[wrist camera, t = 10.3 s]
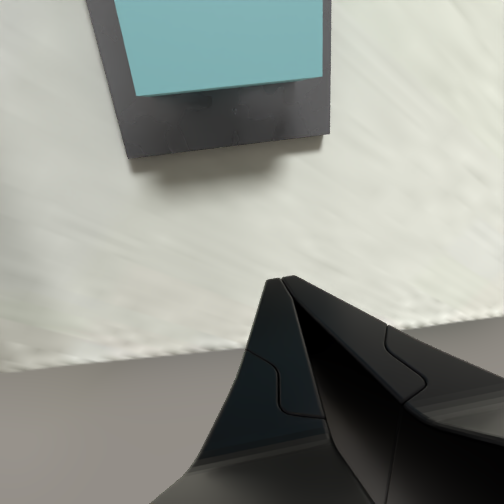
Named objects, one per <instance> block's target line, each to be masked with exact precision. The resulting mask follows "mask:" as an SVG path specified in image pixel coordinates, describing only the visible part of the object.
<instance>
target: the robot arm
mask: <svg viewBox="0 0 504 504" xmlns="http://www.w3.org/2000/svg"><path fill="white" fill-rule="evenodd" d="M150 504H504V378H503V377H501V376H498V375H496V374H493V373H491V372H489V371H487V370H484V369H482V368H480V367H478V366H475V365H473V364H470V363H468V362H466V361H464V360H461V359H459V358H457V357H454V356H452V355H450V354H448V353H446V352H443V351H441V350H439V349H437V348H435V347H432V346H430V345H428V344H426V343H424V342H422V341H419V340H418V339H415V338H414V337H411V336H410V335H408V334H405V333H404V332H402V331H400V330H398V329H396V328H394V327H392V326H390V325H388V326H387V324H386V323H384V322H382V321H381V320H379V319H377V318H375V317H373V316H371V315H369V314H367V313H365V312H364V311H362V310H360V309H358V308H356V307H354V306H352V305H350V304H348V303H347V302H345V301H343V300H341V299H339V298H337V297H335V296H333V295H331V294H330V293H328V292H326V291H324V290H322V289H320V288H318V287H316V286H314V285H312V284H311V283H309V282H307V281H305V280H303V279H301V278H299V277H297V276H295V275H292V276H286V277H282V278H281V279H280V278H274V279H268V280H266V282H265V285H264V289H263V292H262V295H261V299H260V302H259V305H258V309H257V312H256V315H255V319H254V322H253V325H252V328H251V332H250V335H249V338H248V342H247V345H246V348H245V352H244V355H243V358H242V361H241V364H240V367H239V370H238V372H237V375H236V378H235V380H234V383H233V385H232V388H231V389H230V392H229V394H228V396H227V398H226V400H225V402H224V404H223V406H222V408H221V411H220V413H219V414H218V416H217V418H216V420H215V422H214V425H213V427H212V429H211V431H210V433H209V435H208V437H207V439H206V441H205V443H204V445H203V447H202V449H201V451H200V452H199V454H198V456H197V458H196V459H195V461H194V463H193V464H192V465H191V467H190V468H189V469H188V470H187V472H186V473H185V474H184V475H183V476H182V477H181V478H180V479H179V480H177V481H176V482H175V483H174V484H173V485H172V486H170V487H169V488H168V489H167V490H165V491H164V492H163V493H162V494H161V495H160V496H158V497H157V498H156V499H155V500H154V501H152V502H151V503H150Z"/></svg>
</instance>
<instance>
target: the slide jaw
mask: <svg viewBox="0 0 504 504" xmlns="http://www.w3.org/2000/svg"><path fill="white" fill-rule="evenodd" d="M114 2H115V6H116V10H117V15H118V19H119V23H120V28H121V32H122V36H123V40H124V45H125V49H126V53H127V58H128V62H129V66H130V70H131V75H132V79H133V83H134V88H135V92H136V96H144V97H153V96H162V95H172V94H181V93H191V92H200V91H209V90H219V89H228V88H238V87H247V86H256V85H266V84H275V83H285V82H294V81H301V80H306V79H312V78H317V77H322V54H323V0H114Z"/></svg>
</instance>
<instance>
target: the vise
mask: <svg viewBox="0 0 504 504" xmlns="http://www.w3.org/2000/svg"><path fill="white" fill-rule="evenodd" d="M86 2H87V6H88V10H89V13H90V17H91V21H92V25H93V28H94V32H95V36H96V40H97V44H98V47H99V51H100V55H101V59H102V62H103V66H104V70H105V74H106V78H107V81H108V85H109V89H110V93H111V96H112V100H113V104H114V108H115V111H116V115H117V119H118V123H119V127H120V130H121V134H122V138H123V142H124V145H125V149H126V153H127V157H128V159H129V158H137V157H146V156H154V155H162V154H170V153H178V152H186V151H195V150H203V149H211V148H219V147H227V146H235V145H244V144H252V143H260V142H268V141H276V140H284V139H293V138H301V137H309V136H317V135H325V134H330V74H331V0H323V54H322V77H317V78H312V79H306V80H301V81H294V82H285V83H275V84H266V85H256V86H247V87H238V88H228V89H219V90H209V91H200V92H191V93H181V94H172V95H162V96H153V97H144V96H136V92H135V88H134V83H133V79H132V75H131V70H130V66H129V62H128V58H127V53H126V49H125V45H124V40H123V36H122V32H121V28H120V23H119V19H118V15H117V10H116V6H115V2H114V0H86Z"/></svg>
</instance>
